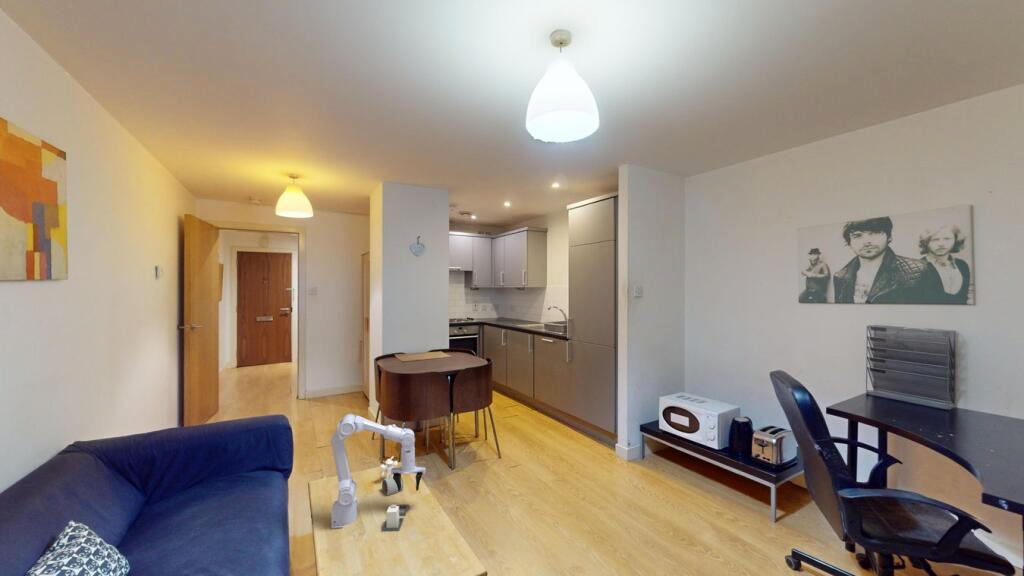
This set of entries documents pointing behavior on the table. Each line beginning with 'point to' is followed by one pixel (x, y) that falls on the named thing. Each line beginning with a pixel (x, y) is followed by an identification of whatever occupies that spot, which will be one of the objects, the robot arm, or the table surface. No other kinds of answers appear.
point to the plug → (392, 516)
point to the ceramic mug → (391, 485)
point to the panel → (402, 512)
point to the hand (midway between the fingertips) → (408, 489)
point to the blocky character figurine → (388, 467)
